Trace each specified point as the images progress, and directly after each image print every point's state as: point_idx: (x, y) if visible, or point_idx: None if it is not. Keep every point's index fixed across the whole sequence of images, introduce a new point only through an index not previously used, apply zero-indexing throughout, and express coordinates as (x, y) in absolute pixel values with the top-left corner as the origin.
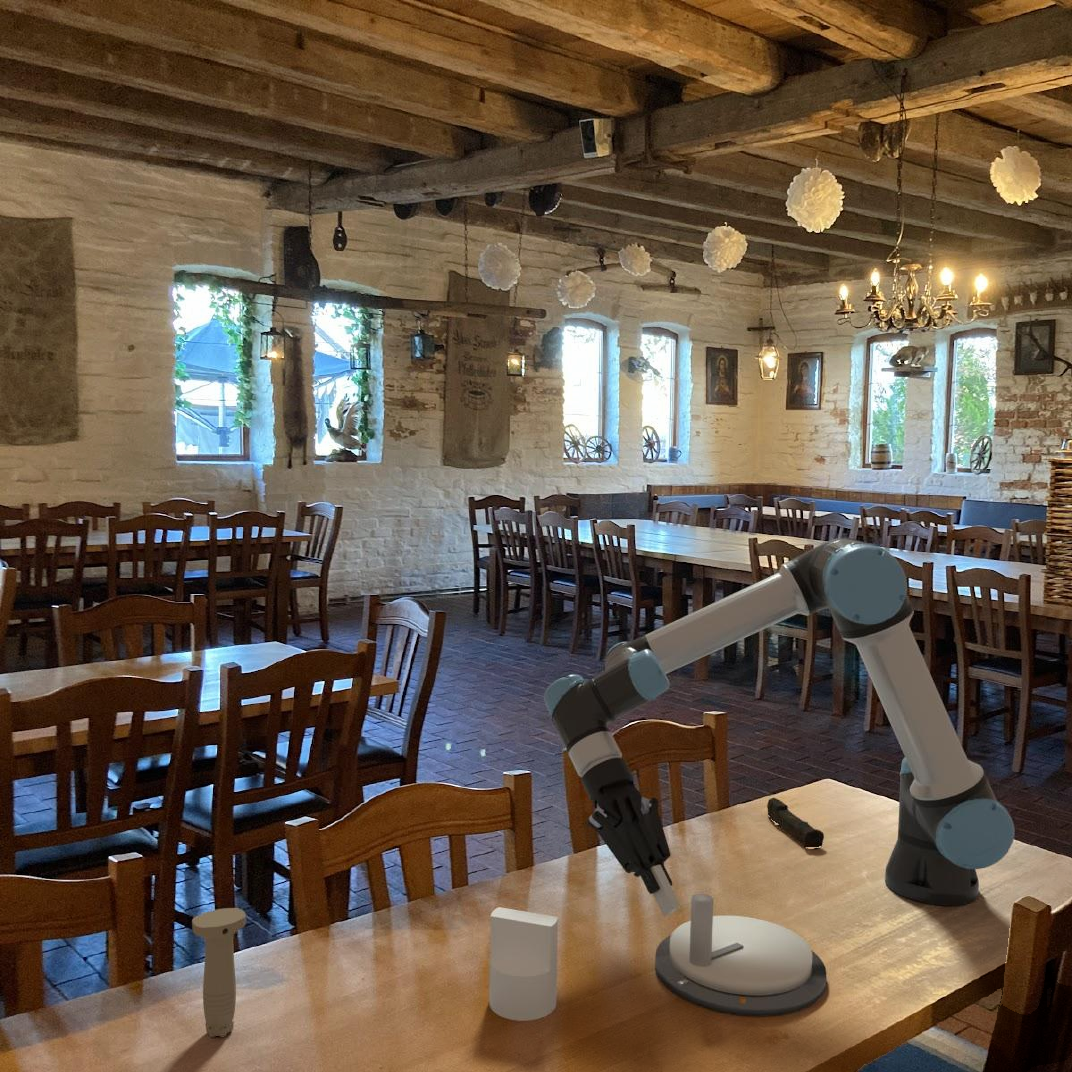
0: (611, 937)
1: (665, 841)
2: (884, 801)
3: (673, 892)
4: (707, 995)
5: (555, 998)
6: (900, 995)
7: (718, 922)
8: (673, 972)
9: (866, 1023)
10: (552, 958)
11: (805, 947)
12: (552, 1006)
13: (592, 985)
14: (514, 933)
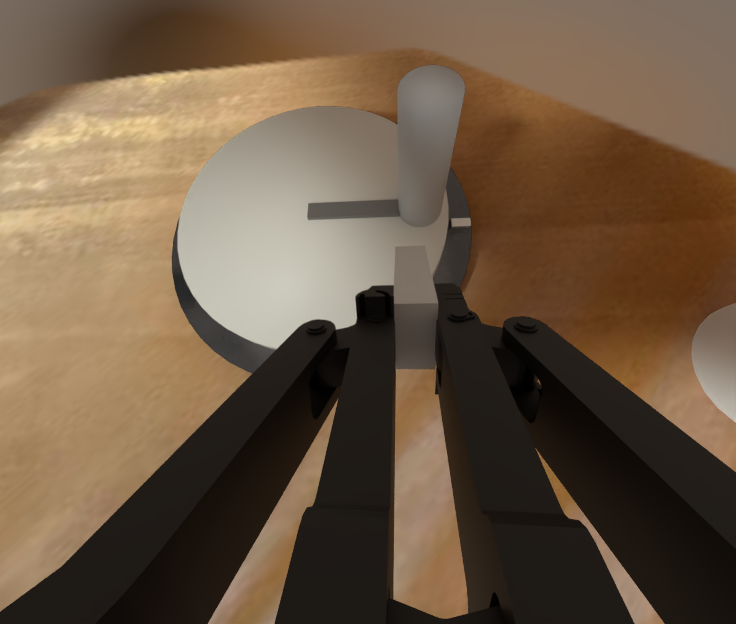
0: (428, 488)
1: (273, 362)
2: None
3: (397, 260)
4: (450, 179)
5: (719, 315)
6: (200, 94)
7: (258, 306)
8: (447, 261)
9: (296, 73)
10: None
11: (221, 156)
12: (726, 307)
13: (590, 343)
14: None
